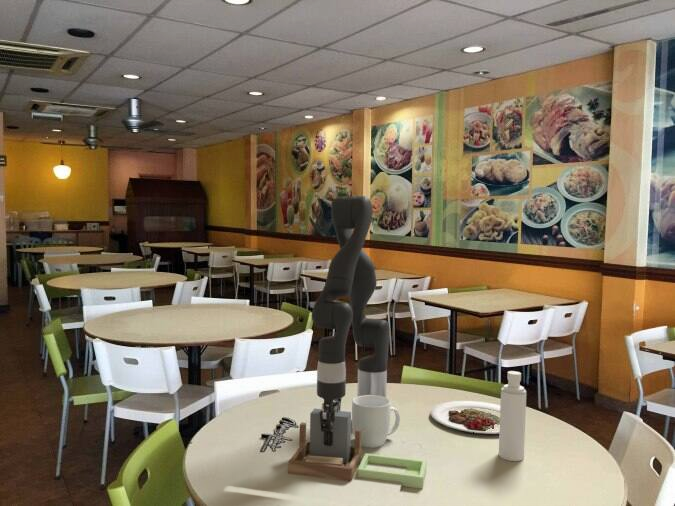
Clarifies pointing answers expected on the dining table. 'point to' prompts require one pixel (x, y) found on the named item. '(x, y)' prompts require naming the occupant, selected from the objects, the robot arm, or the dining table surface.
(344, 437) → the gray rectangular block
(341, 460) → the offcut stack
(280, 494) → the dining table surface
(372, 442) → the mug
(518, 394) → the white bottle
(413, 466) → the holder
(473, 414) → the plated food
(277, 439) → the nameplate
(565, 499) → the dining table surface
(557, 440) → the dining table surface
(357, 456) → the tray
